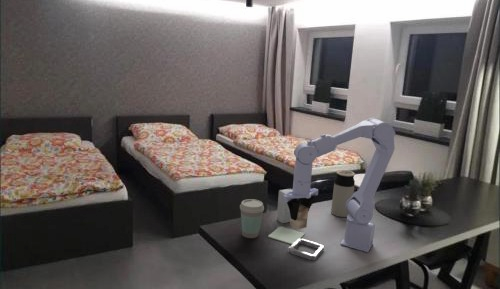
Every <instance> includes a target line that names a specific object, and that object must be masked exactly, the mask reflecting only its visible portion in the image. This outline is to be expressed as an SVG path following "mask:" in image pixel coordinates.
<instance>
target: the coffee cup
mask: <svg viewBox="0 0 500 289" xmlns="http://www.w3.org/2000/svg"><path fill="white" fill-rule="evenodd" d="M239 209H240V220H241V221H240V222H241V234H242V236H243V237H244V238H247V239H257V237H258V236H259V235H260V228H261V224H262V218H263V212H264V211H265V206H264V203H263V202H262V201H261V200H258V199H255V198H254V199H253V198H251V199H250V198H249V199H244V200H242V201H241V203H240V204H239Z"/></svg>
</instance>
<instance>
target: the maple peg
mask: <svg viewBox="0 0 500 289" xmlns="http://www.w3.org/2000/svg"><path fill="white" fill-rule="evenodd" d="M308 210H309V211H310V209H309V208H308V207H306V206H304V205H302V204H301V205H300V207H299V210H298V215H297V219H296V220H293V219H291V218H290V222H289V226H290V227H292V228H293V229H296V231H298V230H302V229H305V228H307V226H308V225H307V224H308V213H309V211H308Z"/></svg>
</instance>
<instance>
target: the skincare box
mask: <svg viewBox="0 0 500 289" xmlns="http://www.w3.org/2000/svg"><path fill="white" fill-rule="evenodd" d="M292 190H293V188H286V189H279V190H278V197H277V200H278V201H277V212H276V220H277V221H278V222H279V223H281V224H285V223H290V218H291V216H290V210H289V207H288V204H287V202H284V201H282V196H283V195H284V194H287V193H289V192H291V191H292Z"/></svg>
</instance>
